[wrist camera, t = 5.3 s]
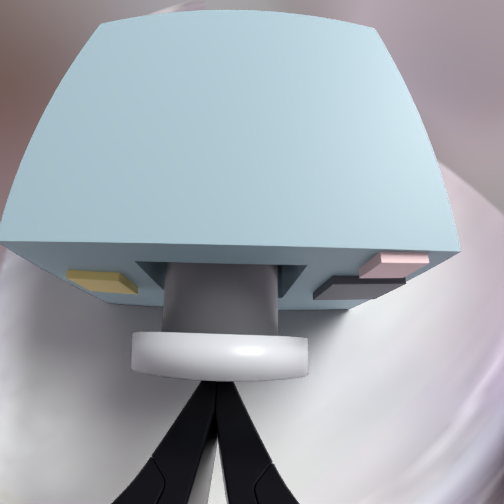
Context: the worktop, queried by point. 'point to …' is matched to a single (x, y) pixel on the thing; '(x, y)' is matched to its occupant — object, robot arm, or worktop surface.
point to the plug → (220, 327)
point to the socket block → (232, 161)
